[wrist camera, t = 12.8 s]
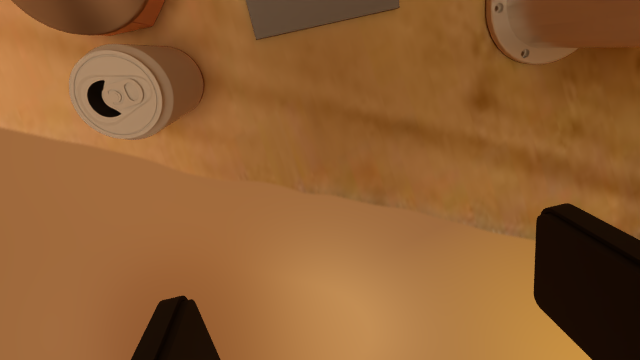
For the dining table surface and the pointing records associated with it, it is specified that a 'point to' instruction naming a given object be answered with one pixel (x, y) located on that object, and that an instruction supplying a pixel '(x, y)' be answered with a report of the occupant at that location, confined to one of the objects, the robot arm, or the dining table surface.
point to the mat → (308, 13)
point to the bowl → (143, 17)
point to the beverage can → (134, 89)
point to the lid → (84, 14)
